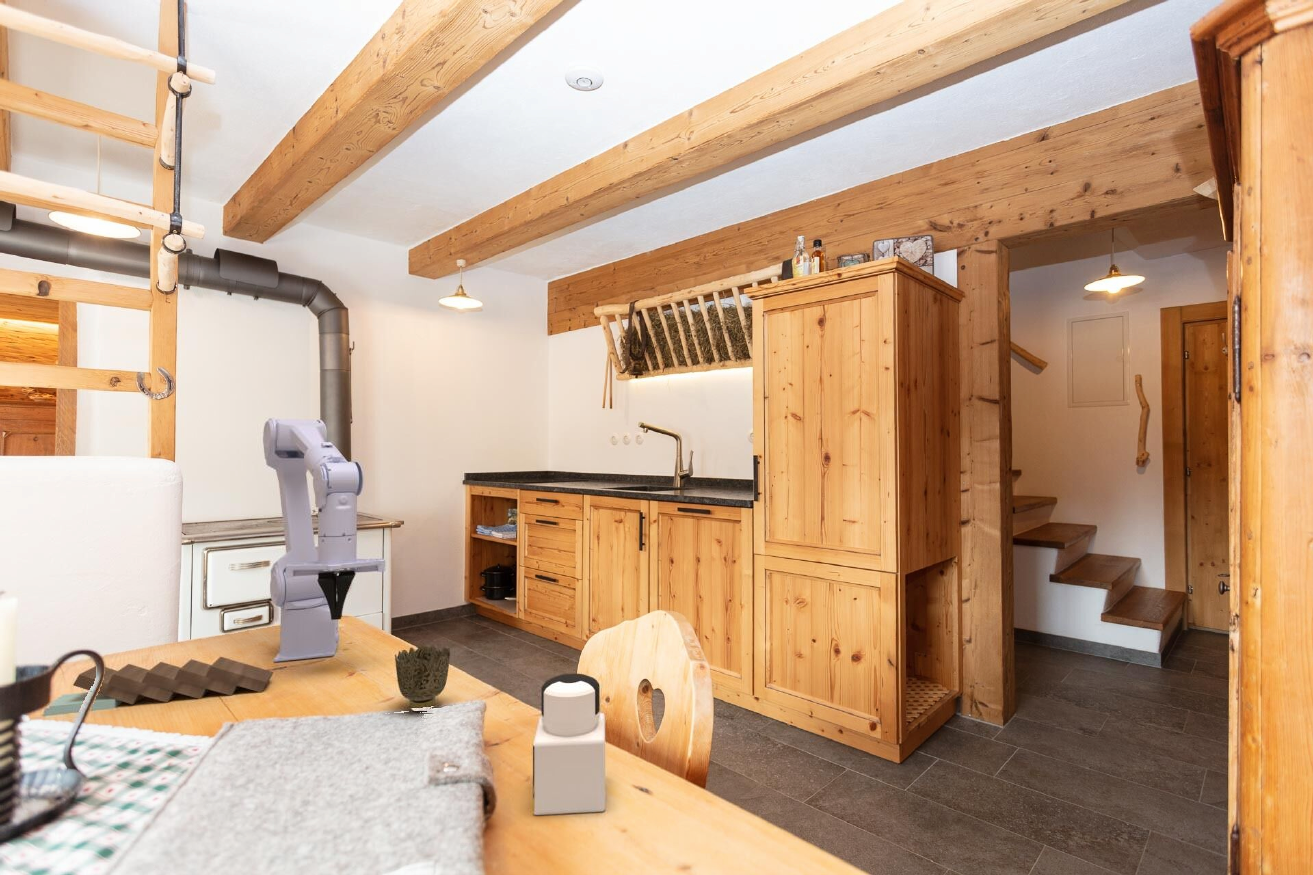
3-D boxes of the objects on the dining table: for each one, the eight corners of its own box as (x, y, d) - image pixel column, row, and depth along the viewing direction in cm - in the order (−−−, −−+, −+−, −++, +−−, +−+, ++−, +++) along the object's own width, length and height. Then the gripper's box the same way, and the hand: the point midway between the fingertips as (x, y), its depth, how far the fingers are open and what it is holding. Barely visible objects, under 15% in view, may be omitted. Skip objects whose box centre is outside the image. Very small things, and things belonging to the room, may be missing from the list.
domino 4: (216, 677, 100) (160, 661, 97) (205, 688, 95) (147, 671, 93) (211, 687, 99) (155, 671, 97) (200, 699, 95) (141, 682, 92)
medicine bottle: (539, 780, 70) (539, 669, 70) (605, 777, 70) (604, 666, 71) (532, 816, 62) (532, 692, 63) (605, 812, 63) (604, 689, 64)
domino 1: (130, 687, 96) (63, 694, 93) (114, 699, 91) (44, 706, 89) (129, 698, 96) (62, 705, 93) (114, 710, 91) (43, 718, 89)
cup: (382, 714, 88) (382, 656, 88) (419, 696, 95) (419, 642, 95) (426, 722, 85) (426, 661, 86) (461, 702, 92) (461, 646, 93)
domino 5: (245, 674, 101) (191, 659, 99) (236, 685, 96) (179, 668, 94) (240, 684, 101) (185, 669, 98) (231, 695, 96) (173, 679, 94)
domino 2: (154, 683, 97) (98, 664, 95) (138, 693, 92) (79, 674, 90) (149, 693, 97) (92, 674, 95) (132, 704, 92) (72, 685, 90)
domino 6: (273, 672, 102) (220, 656, 100) (266, 682, 98) (210, 665, 95) (268, 681, 102) (215, 666, 100) (261, 692, 97) (205, 676, 95)
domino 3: (185, 680, 98) (128, 663, 96) (173, 691, 94) (113, 673, 91) (179, 691, 98) (123, 673, 96) (167, 702, 93) (107, 684, 91)
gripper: (282, 539, 99) (281, 628, 98) (384, 535, 104) (383, 619, 103) (290, 535, 105) (289, 618, 105) (385, 531, 111) (385, 610, 110)
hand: (336, 618), depth 105 cm, fingers closed
